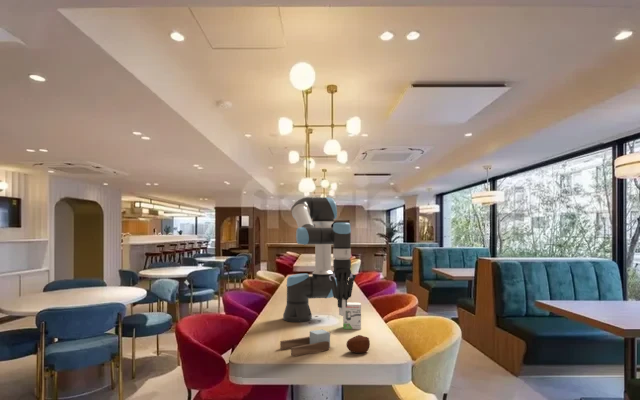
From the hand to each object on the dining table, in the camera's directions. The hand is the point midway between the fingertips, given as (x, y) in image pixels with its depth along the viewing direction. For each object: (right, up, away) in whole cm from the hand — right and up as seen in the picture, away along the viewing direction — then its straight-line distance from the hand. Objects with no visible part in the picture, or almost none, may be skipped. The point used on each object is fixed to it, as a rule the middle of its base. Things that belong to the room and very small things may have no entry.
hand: (342, 315), depth 166 cm
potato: (+5, -11, -14) cm, 18 cm away
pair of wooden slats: (-16, -11, -10) cm, 21 cm away
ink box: (+6, -13, +24) cm, 28 cm away
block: (-10, -11, -6) cm, 16 cm away
